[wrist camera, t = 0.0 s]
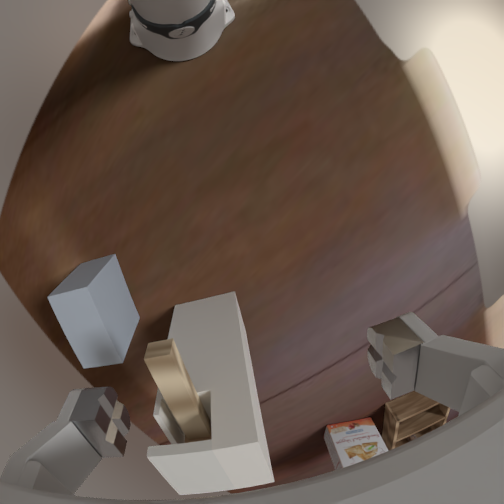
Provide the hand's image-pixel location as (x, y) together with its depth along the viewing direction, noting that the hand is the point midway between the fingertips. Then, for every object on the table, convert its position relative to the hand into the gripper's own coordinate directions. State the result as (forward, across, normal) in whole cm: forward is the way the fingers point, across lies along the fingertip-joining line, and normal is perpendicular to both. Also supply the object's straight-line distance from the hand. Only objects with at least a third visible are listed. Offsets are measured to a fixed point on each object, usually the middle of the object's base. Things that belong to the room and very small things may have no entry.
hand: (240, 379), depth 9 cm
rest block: (+48, +26, +14) cm, 56 cm away
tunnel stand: (+48, +8, +25) cm, 55 cm away
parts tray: (+48, -40, +79) cm, 101 cm away
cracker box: (+48, -18, +71) cm, 88 cm away
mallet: (+22, +10, +20) cm, 32 cm away
